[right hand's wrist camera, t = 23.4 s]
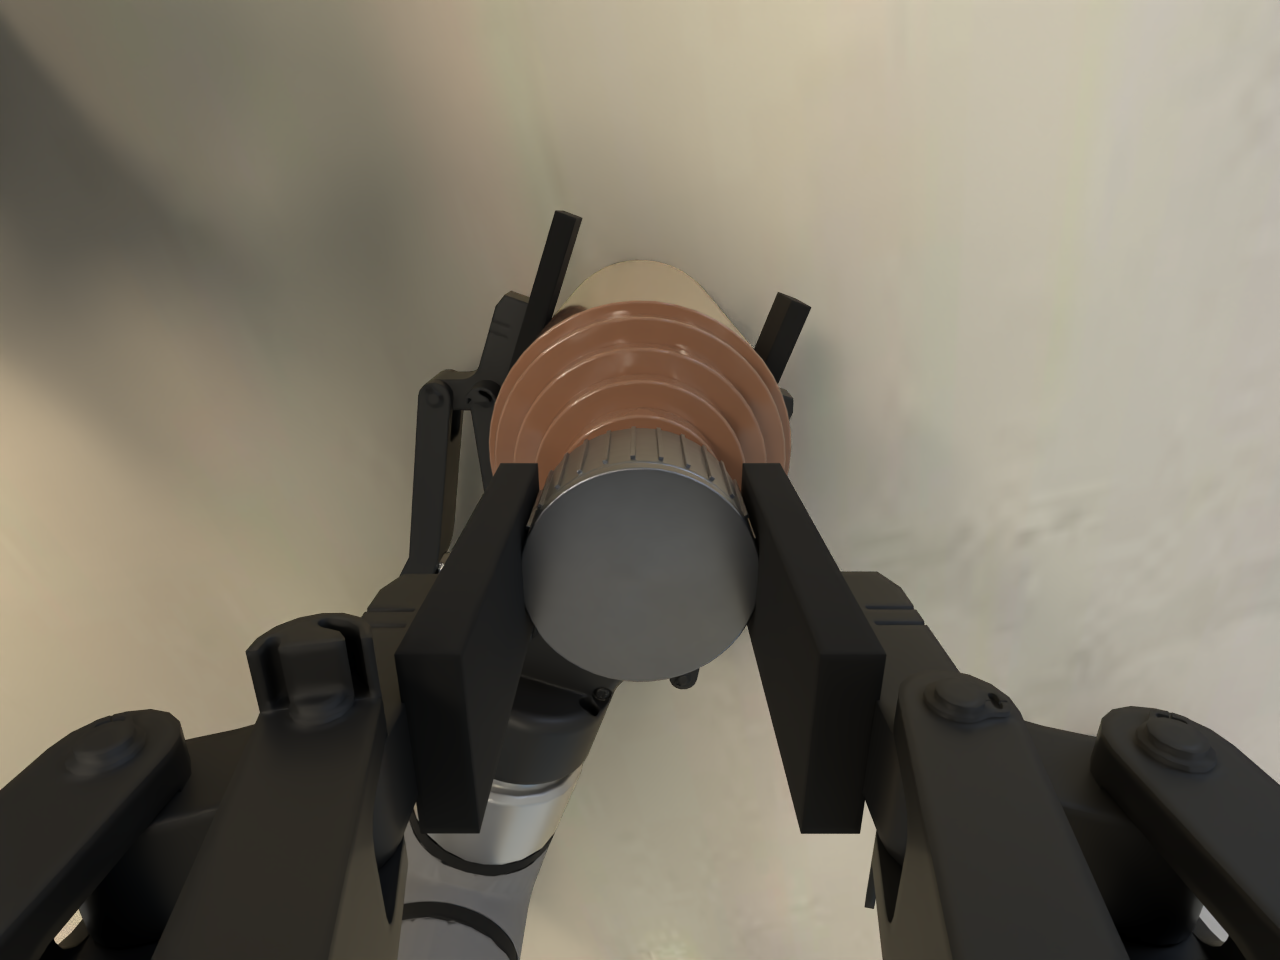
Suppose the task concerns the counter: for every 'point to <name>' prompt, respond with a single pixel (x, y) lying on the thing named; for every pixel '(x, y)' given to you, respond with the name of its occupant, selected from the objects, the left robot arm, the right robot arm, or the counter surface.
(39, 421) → the counter surface
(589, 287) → the tan bottle
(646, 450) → the cap
